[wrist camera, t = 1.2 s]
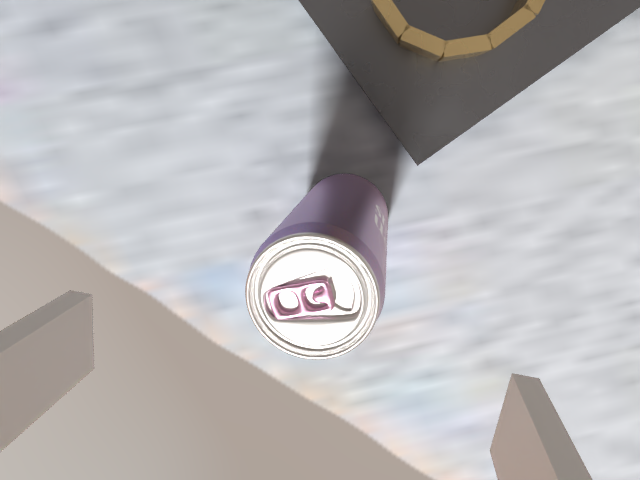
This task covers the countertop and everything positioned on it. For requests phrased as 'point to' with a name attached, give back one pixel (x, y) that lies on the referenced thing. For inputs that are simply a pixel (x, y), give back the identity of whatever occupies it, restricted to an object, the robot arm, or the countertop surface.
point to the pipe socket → (455, 55)
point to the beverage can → (322, 270)
